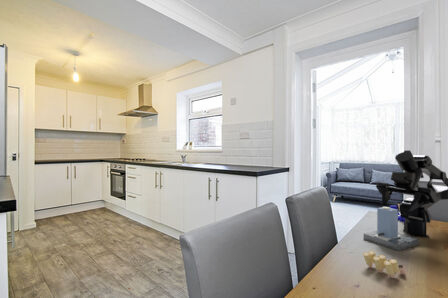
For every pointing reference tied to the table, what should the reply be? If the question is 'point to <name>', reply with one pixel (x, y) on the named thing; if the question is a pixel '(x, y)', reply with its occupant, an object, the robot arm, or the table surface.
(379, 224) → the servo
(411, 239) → the plate
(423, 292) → the table surface
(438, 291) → the table surface
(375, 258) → the ammunition
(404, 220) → the cable clip
